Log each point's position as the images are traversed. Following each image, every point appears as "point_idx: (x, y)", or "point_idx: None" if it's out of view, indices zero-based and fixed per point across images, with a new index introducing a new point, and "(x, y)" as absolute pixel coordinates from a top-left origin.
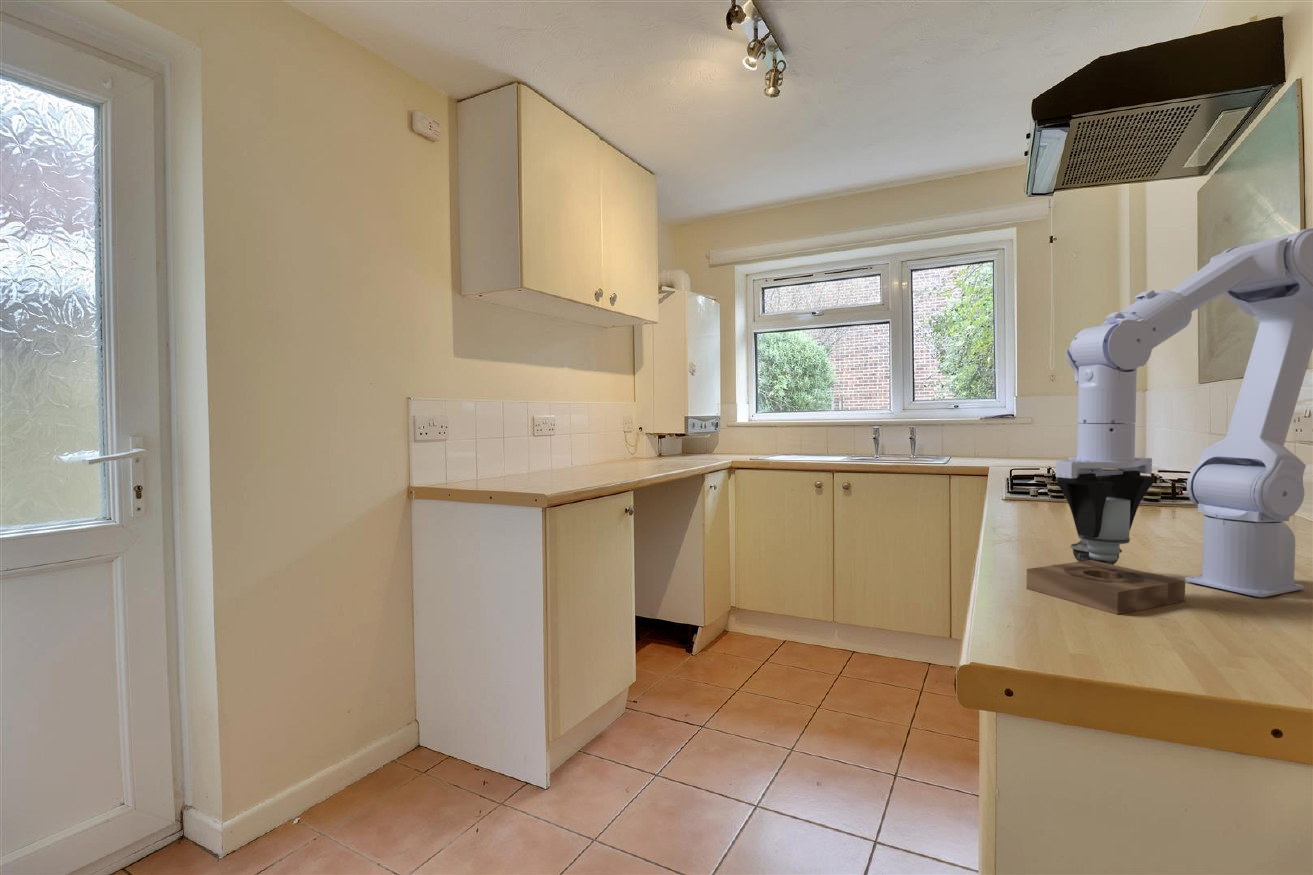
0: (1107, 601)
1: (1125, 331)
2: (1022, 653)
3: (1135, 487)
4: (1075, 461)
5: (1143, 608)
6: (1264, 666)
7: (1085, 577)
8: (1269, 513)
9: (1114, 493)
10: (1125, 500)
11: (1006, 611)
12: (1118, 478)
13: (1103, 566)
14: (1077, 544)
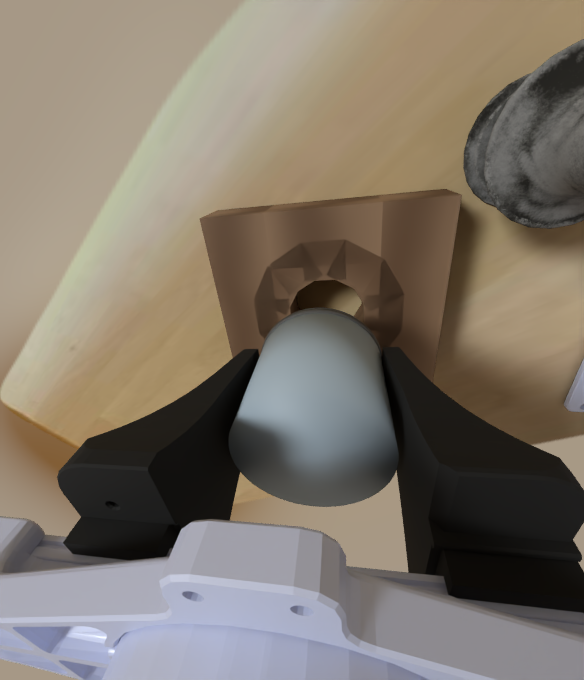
0: None
1: None
2: (52, 402)
3: (408, 552)
4: (14, 649)
5: None
6: (248, 484)
7: (270, 317)
8: None
9: (410, 461)
10: (347, 494)
11: (99, 305)
12: (423, 551)
13: (407, 265)
14: (541, 99)
